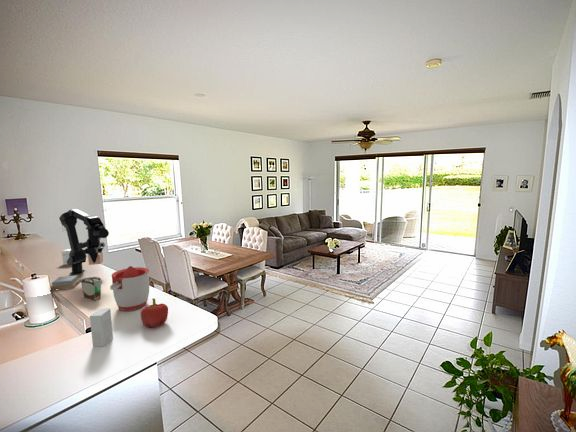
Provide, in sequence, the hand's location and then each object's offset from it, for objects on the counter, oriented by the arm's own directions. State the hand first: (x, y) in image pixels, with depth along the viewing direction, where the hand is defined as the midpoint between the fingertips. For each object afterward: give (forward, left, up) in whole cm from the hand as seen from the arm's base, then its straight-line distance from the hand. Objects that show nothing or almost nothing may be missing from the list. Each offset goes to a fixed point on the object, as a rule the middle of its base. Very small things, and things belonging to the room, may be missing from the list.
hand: (95, 261), depth 173 cm
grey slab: (+12, -12, -8) cm, 19 cm away
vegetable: (+76, +42, -10) cm, 87 cm away
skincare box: (+84, +25, -10) cm, 88 cm away
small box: (-39, -27, -10) cm, 49 cm away
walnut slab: (+12, -12, -11) cm, 20 cm away
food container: (+36, +9, -10) cm, 38 cm away
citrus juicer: (+54, +29, -10) cm, 62 cm away
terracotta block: (0, 0, -1) cm, 1 cm away
